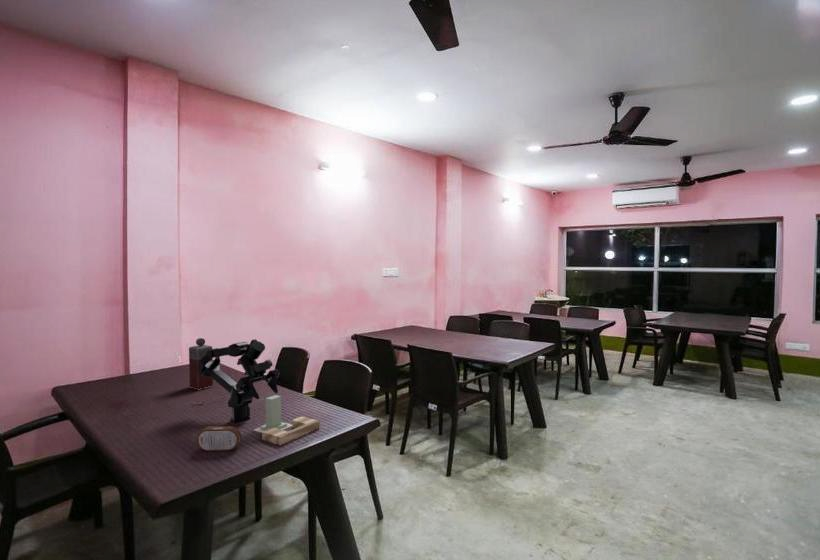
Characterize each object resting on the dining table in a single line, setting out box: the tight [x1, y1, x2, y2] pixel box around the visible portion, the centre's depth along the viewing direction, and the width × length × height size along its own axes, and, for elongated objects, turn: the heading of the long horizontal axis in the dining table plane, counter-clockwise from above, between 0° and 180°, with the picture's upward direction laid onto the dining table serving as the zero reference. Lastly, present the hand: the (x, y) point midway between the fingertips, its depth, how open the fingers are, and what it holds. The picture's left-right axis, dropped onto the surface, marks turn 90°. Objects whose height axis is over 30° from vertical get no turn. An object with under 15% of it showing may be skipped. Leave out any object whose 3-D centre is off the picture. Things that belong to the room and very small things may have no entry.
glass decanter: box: [188, 337, 214, 389], centre depth 234 cm, size 9×11×28 cm
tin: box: [196, 425, 242, 452], centre depth 150 cm, size 15×3×8 cm, turn 92°
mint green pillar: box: [259, 394, 287, 430], centre depth 170 cm, size 7×8×12 cm
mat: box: [253, 421, 293, 434], centre depth 170 cm, size 10×12×1 cm
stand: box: [261, 416, 321, 446], centre depth 164 cm, size 10×20×3 cm, turn 147°
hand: (268, 395), depth 171 cm, fingers open, 9 cm apart
